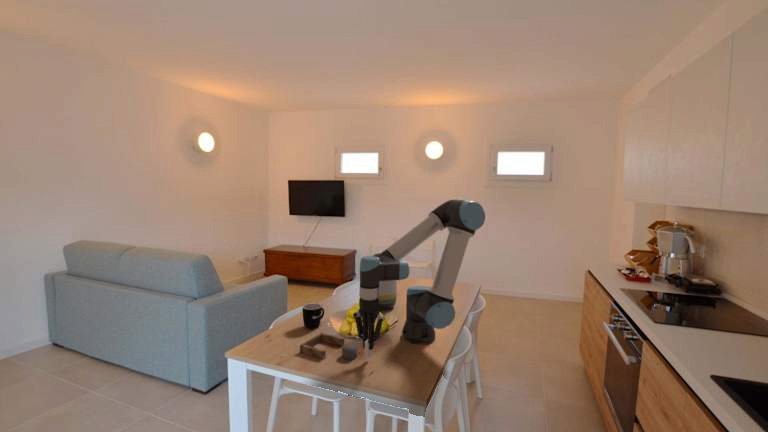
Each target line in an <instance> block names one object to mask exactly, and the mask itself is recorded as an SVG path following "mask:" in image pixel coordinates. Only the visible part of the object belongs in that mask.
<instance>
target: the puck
mask: <svg viewBox="0 0 768 432" xmlns="http://www.w3.org/2000/svg"><path fill="white" fill-rule="evenodd" d="M341 350H342V351H341V358H342V359H344V360H346V361H353V360H355V359H356V358H357V357H358V346H357V345H354V344H346V345H345V344H344V346H341Z"/></svg>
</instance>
